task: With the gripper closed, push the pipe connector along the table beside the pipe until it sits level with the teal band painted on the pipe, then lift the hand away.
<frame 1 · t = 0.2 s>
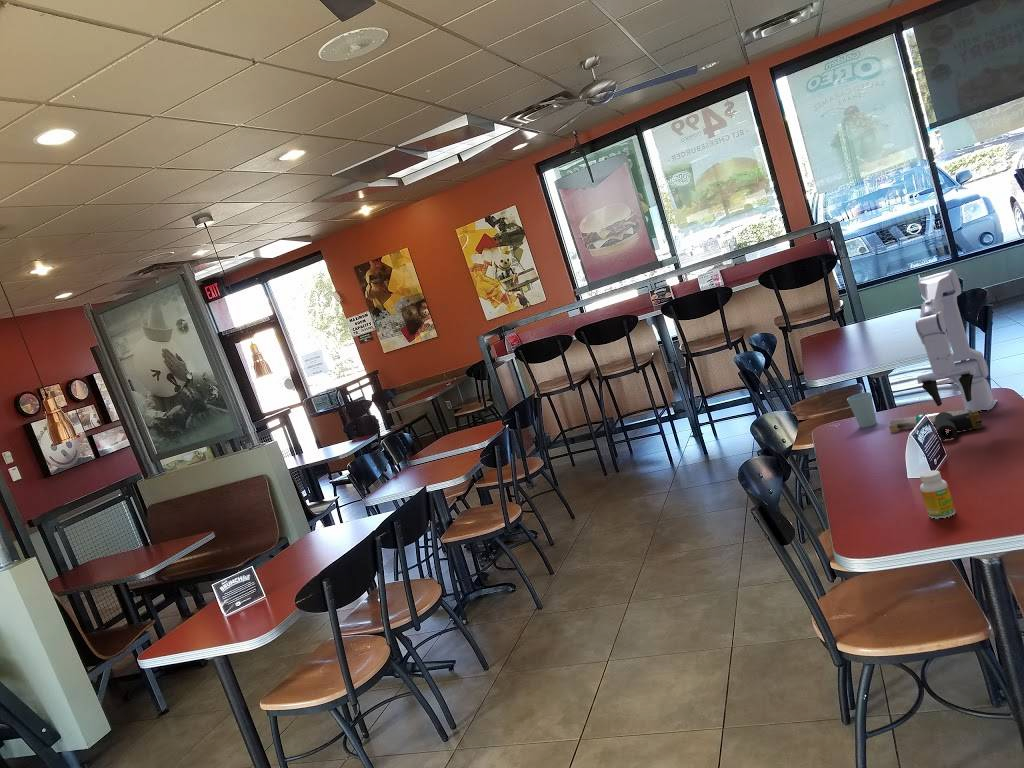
hand: (954, 402, 215), 10 cm above the table, tool pointing down, fingers open, 7 cm apart
pipe connector: (960, 433, 221), on the table
supplement bottle: (942, 515, 169), on the table
cup: (868, 425, 260), on the table
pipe: (931, 425, 236), on the table
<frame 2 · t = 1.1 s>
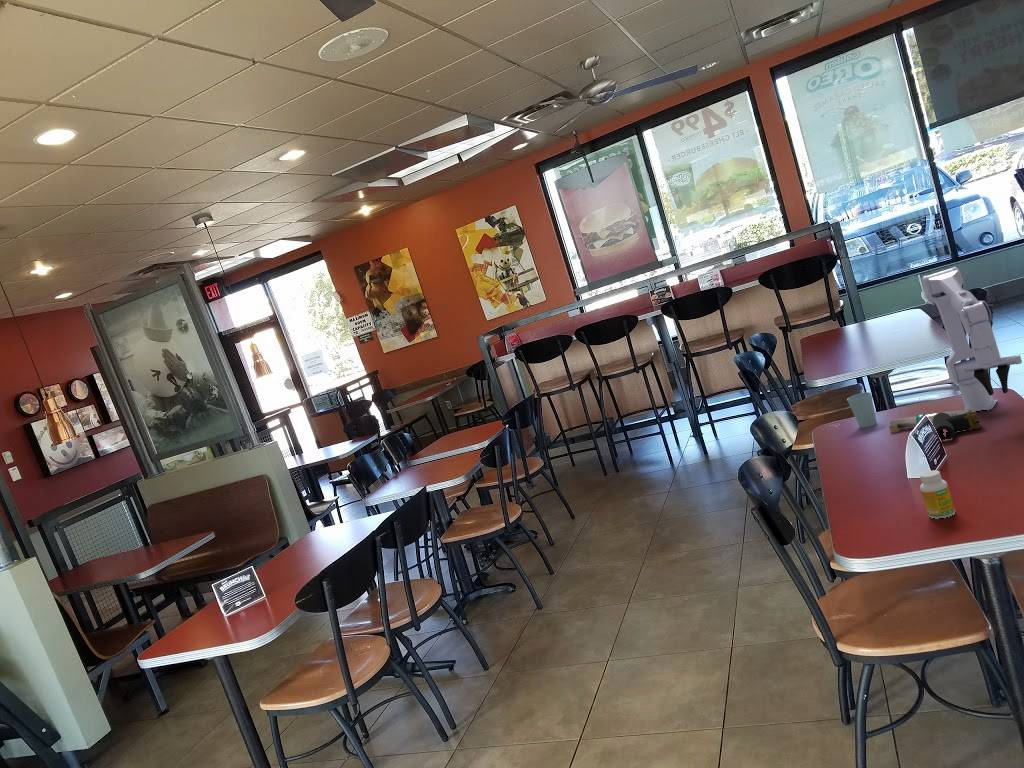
hand: (998, 393, 211), 9 cm above the table, tool pointing down, fingers open, 3 cm apart
nothing on the table moved.
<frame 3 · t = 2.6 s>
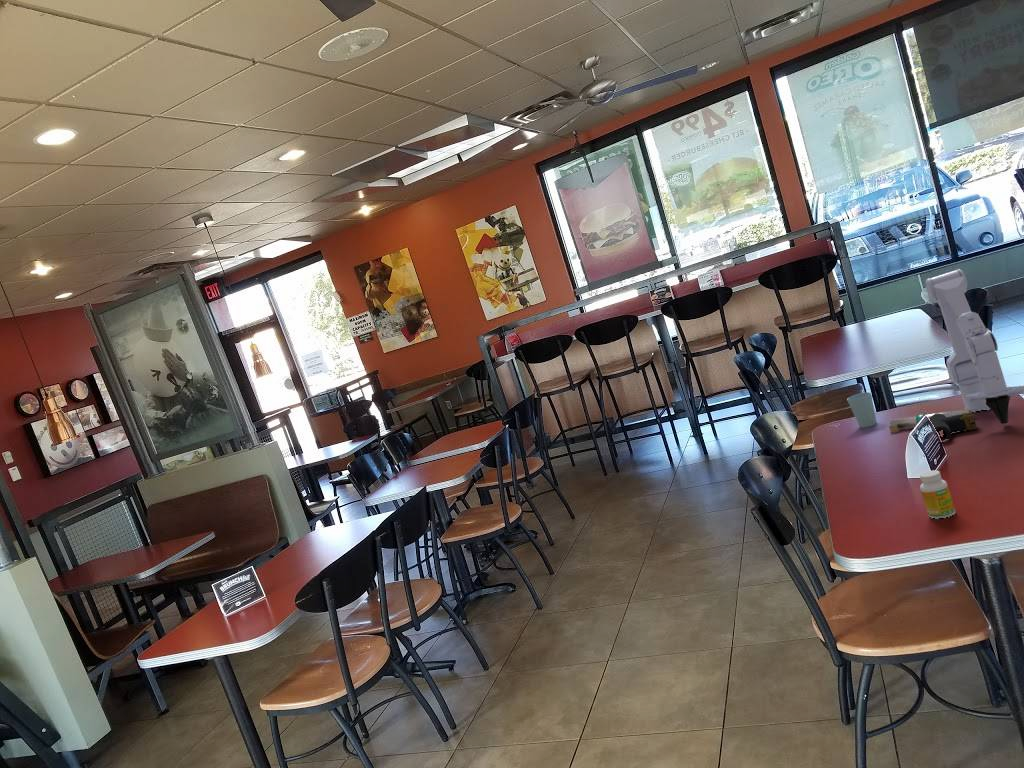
hand: (1004, 422, 212), 1 cm above the table, tool pointing down, fingers closed
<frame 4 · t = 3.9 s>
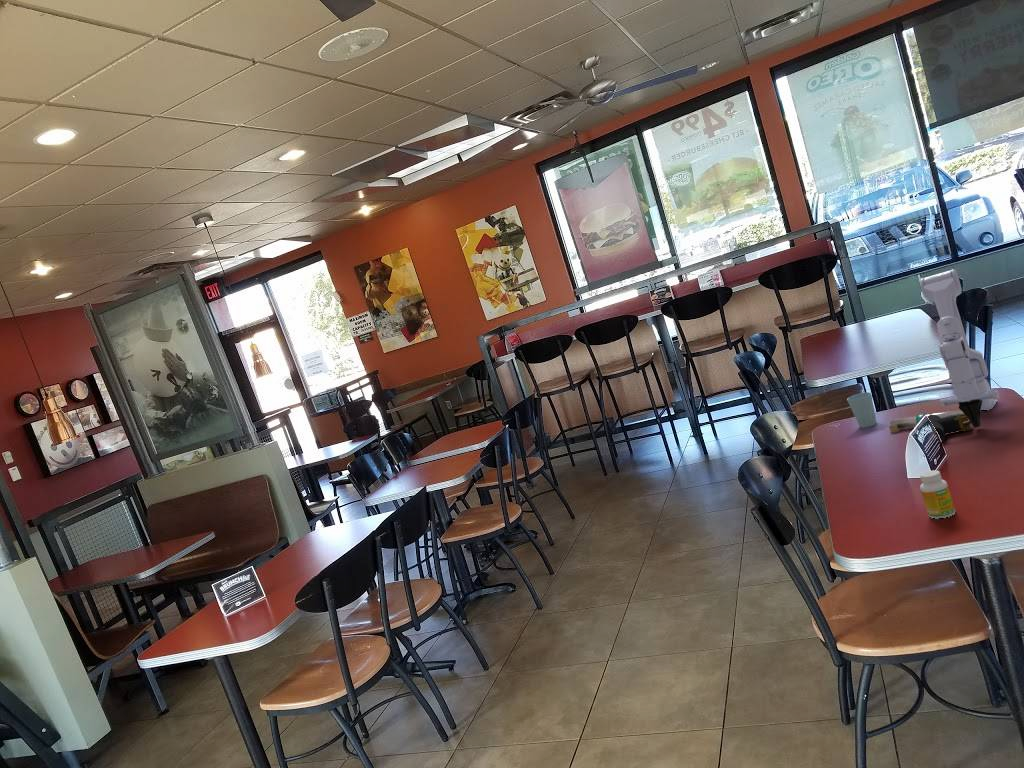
hand: (977, 426, 217), 1 cm above the table, tool pointing down, fingers closed
pipe connector: (949, 435, 222), on the table, touching gripper
everything else where it was.
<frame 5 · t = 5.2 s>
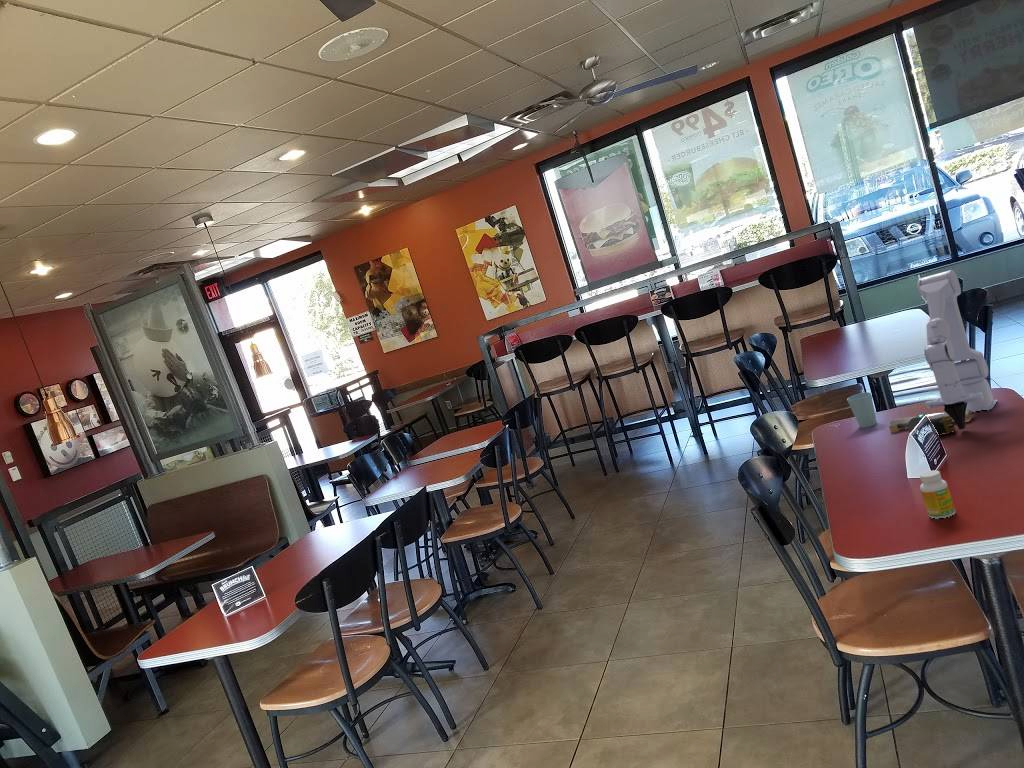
hand: (962, 428, 220), 1 cm above the table, tool pointing down, fingers closed
pipe connector: (934, 437, 225), on the table, touching gripper
everything else where it was.
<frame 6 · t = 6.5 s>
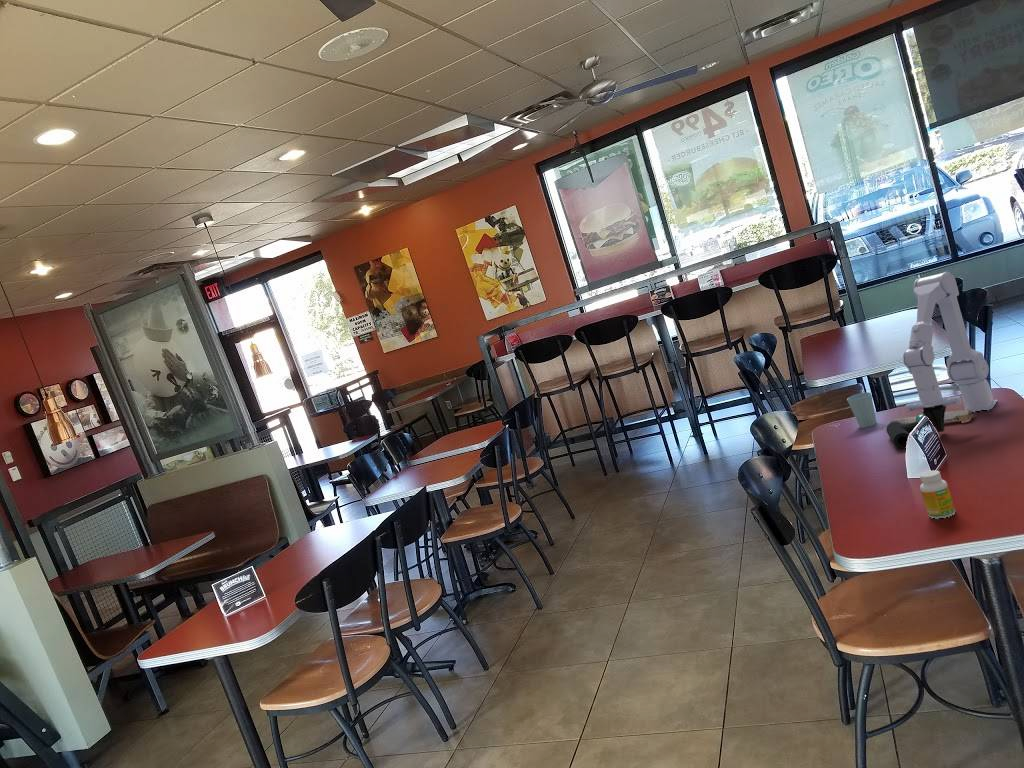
hand: (941, 430, 224), 1 cm above the table, tool pointing down, fingers closed
pipe connector: (913, 440, 229), on the table
everything else where it was.
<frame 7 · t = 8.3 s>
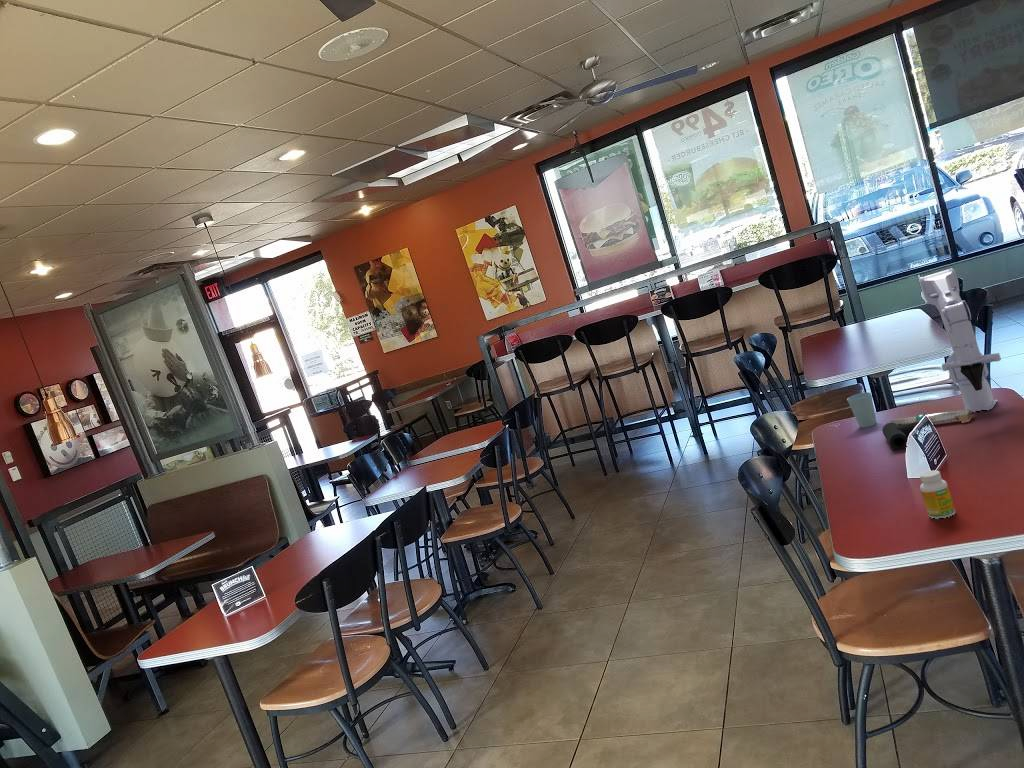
hand: (979, 389, 220), 10 cm above the table, tool pointing down, fingers closed
pipe connector: (909, 441, 229), on the table
everything else where it was.
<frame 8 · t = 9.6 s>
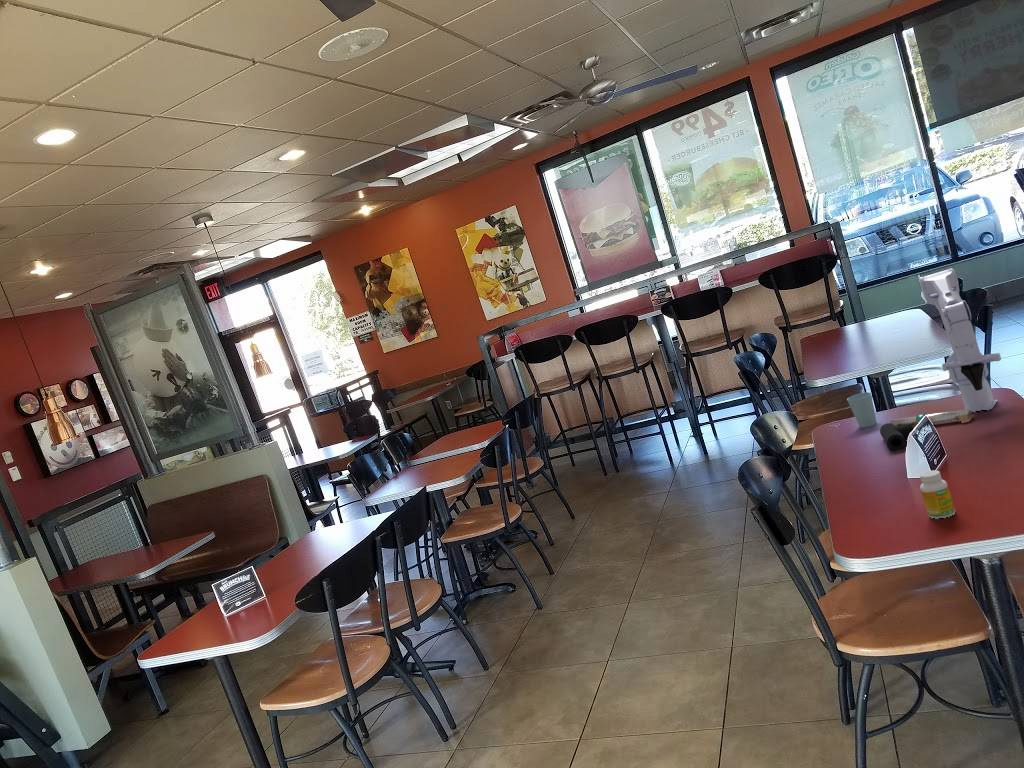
hand: (979, 389, 220), 10 cm above the table, tool pointing down, fingers closed
nothing on the table moved.
at the end: pipe connector inside the target area (2.4 cm from its centre), on the table; pipe connector moved 14.7 cm from its start; pipe connector touching table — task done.
